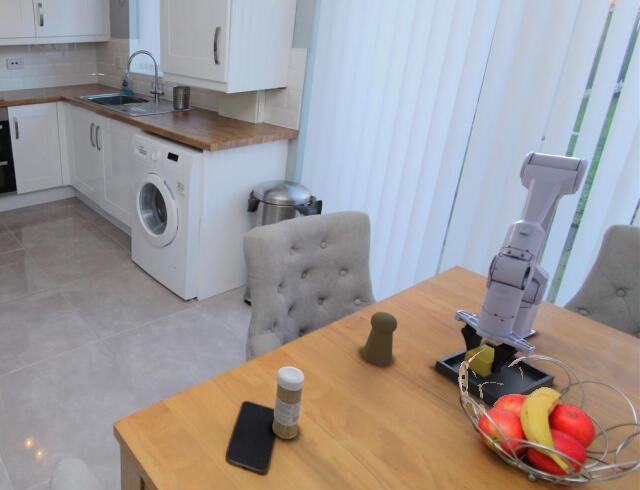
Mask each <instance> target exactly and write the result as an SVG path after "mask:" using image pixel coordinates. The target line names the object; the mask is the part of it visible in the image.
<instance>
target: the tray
mask: <svg viewBox="0 0 640 490" xmlns="http://www.w3.org/2000/svg"><path fill="white" fill-rule="evenodd" d="M484 344H485V345H487V346H489V347H491V348H494V347H495V346H498V344H495V343H494V342H492V341H490V340H487V339H485V340H482V341H481V343H480V346H482V345H484ZM466 352H467V350H466V348H463V349H461V350H458V351H456V352H454V353H452V354H449V355H446V356H444V357H441V358H439V359H437V360H435V366H434V370H436V371H437V372H439V373H440V374H442V375H443V376H445V377H447V378H448V379H449V380H451V381H453V382H454V383H455V384H457V385H459V382H458V377H459V369H460V366H461V363H462V362H463V361H464V360H465V356H466ZM518 358H520V356H517V355H516V354H514V355H513V356H512V357H511V358H510V359H509V360H508V361H507V362H506V363H505V364H504V365H503V367H502V371H500V372H498V373H496V374H494V375H492V376H489V377H487V378H485V379H482V378H480V377H478V376H477V375H476V377H477V378H476V377H475V375H474V373H472V372H470V371H469V370H467V371H468V390H469V391H468V390H467V391H468V392H470V393H471V394H473V395H475V396H476V397H477V398H479V399H481V398H480V391H479V386H478V385H479V384H481V385H482V384H483V383H485V382H489V383H486V384H483V385H482V387H481V389H482V393H483V400H482V401H484V402H485V403H487V404H488V405H489V406H491V407H493V405H494V403H495V402H496V401H497V400H498V399H499V398H500V397H502V396H504V395H509V394H521V395H529V394H531V393H532V392H533V391H535V390H536V389H539V388H541V387H548V388H550V387H552V386H553V384H554V381H555V378H556V376H555V375H553V374H551V373H549V372H547V371H546V370H543V369H542V368H540V367H538V366H536V365H534V364H532V363H531V362H529V361H527V360H524V359H523V360H521V361H519V362H518V363H517V364H514V365H513V366H510V367H508V366H509V365H510V364H511V363H512V362H513V361H514V360H516V359H518ZM519 367H521V369H522V371H523V379H522V375H521V371H520V369H519ZM462 379H465V375H462ZM490 382H496V383H490ZM497 383H503V384H504V385H500V384H497ZM462 384H463V383H462Z"/></svg>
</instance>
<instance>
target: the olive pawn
mask: <svg viewBox="0 0 640 490" xmlns="http://www.w3.org/2000/svg"><path fill="white" fill-rule="evenodd" d="M370 325H371V329H370V332H369V334H368V337H367V339H366V342H365V345H364V348H363V350H362V357H363V358H364V359H365V360H366V361H368V362H369V363H371V364H373V365H377V366H382V367H383V366H388V365H391V364H392V361H393V341H394V340H393V339H394V332H396V330H397V328H398V320H397V319H396V317H395V316H394V315H392V314H391V313H389V312H385V311H377V312H375V313H373V314H372V316H371V317H370Z"/></svg>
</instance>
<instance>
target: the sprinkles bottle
mask: <svg viewBox="0 0 640 490" xmlns="http://www.w3.org/2000/svg"><path fill="white" fill-rule="evenodd" d="M276 382H277V385H276V386H277V387H276V393H275V394H276V395H275V401H274V410H273V423H272V427H271V428H272V431H273V433H274V434H275V435H276V436H277V437H279V438H281V439H283V440H291V439H294V438H295V437H296V436H297V434H298V423H299V418H300V412H301V404H302V392H303V388H304V386H305V385H304V384H305V374H304V373H303V371H302V370H300V368H297V367H294V366H289V365H288V366H283V367H280V368H279V369H278V371H277V375H276Z"/></svg>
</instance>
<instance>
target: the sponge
mask: <svg viewBox="0 0 640 490" xmlns="http://www.w3.org/2000/svg"><path fill="white" fill-rule="evenodd" d="M483 349H485V350H484V351H482V350H483ZM480 351H482V352H480ZM478 352H480V353H479V354H478V355H476V356H475V358H474V359H473V360H472V361H471V362H470V365H469V367H468V369H467V370H469V371H470V372H472V371H474V372H475V373H476V375H477V376H478V377H480V378H482V379H485V378H487V377H489V376H492V375H494V374H493V373H491V366H492V363H493V360H494V349H493V348H491V347H489V346H487V345H485V344H484V345H482V346H479V347H477V348H475V349H472V350H470V351H467V352H466V356H465V360H464V361H468V360H469V359H470V358H472V357H473V356H474V355H475V354H477V353H478ZM500 371H502V368H501V370H500ZM500 371H499V372H500ZM472 373H473V372H472ZM497 373H498V372H497ZM495 374H496V373H495Z"/></svg>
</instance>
